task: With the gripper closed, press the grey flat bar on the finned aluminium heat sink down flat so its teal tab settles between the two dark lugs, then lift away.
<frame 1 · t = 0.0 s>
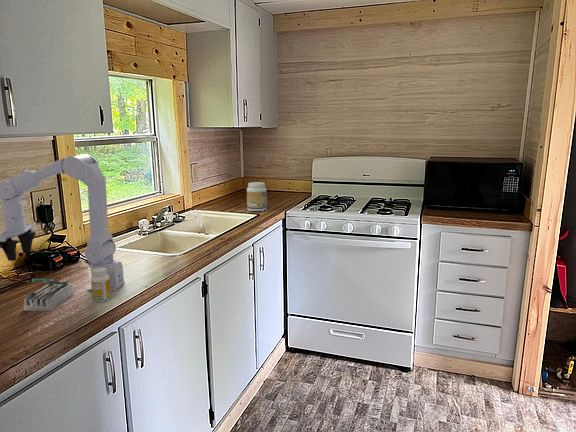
hand: (19, 256, 145), 10 cm above the counter, tool pointing down, fingers open, 7 cm apart
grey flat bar: (49, 281, 134), point 6 cm above the counter, hinge at 25.0°
supplement bottle: (102, 299, 136), on the counter
supplement tub: (257, 210, 268), on the counter
heat sink: (50, 301, 134), on the counter
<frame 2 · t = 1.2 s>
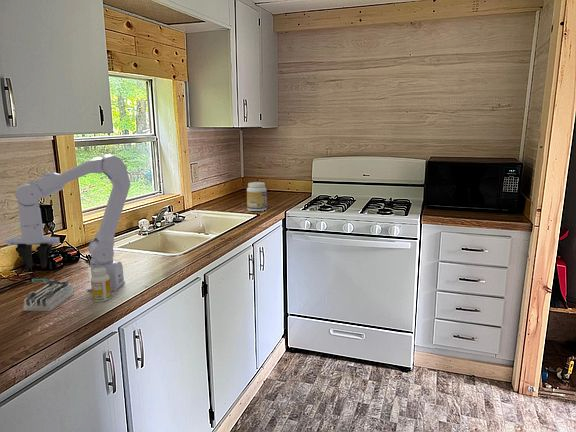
hand: (37, 267, 134), 10 cm above the counter, tool pointing down, fingers open, 4 cm apart
nothing on the counter moved.
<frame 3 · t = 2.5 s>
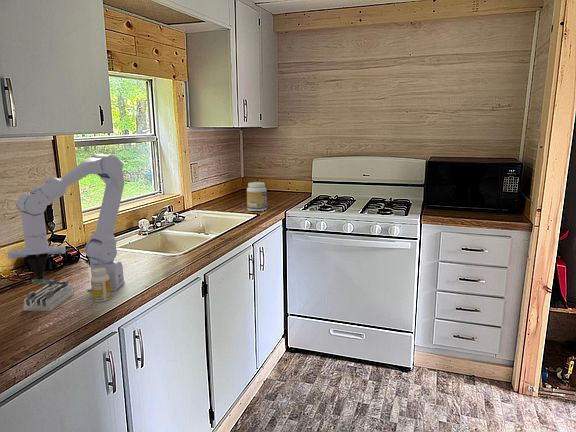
hand: (40, 278, 129), 9 cm above the counter, tool pointing down, fingers closed, pressing on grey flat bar
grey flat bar: (49, 282, 134), point 6 cm above the counter, hinge at 23.9°, touching gripper
everything else where it was.
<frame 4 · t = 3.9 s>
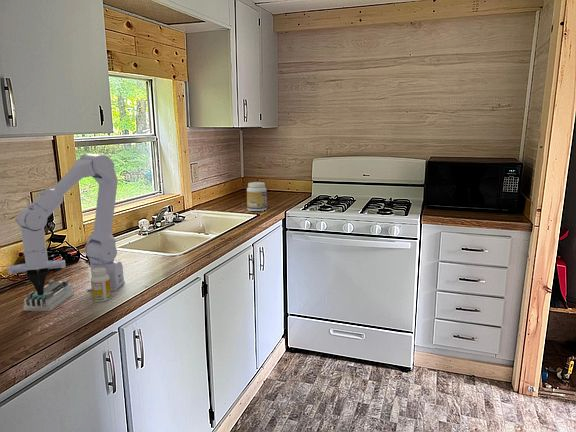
hand: (40, 293, 130), 4 cm above the counter, tool pointing down, fingers closed, pressing on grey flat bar
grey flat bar: (49, 289, 134), point 4 cm above the counter, hinge at -1.2°, touching gripper, heat sink
everything else where it was.
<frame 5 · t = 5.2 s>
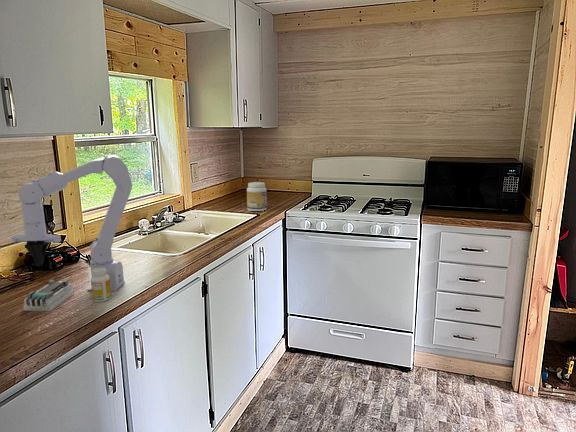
hand: (39, 264, 137), 10 cm above the counter, tool pointing down, fingers closed
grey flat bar: (49, 289, 134), point 4 cm above the counter, hinge at -1.2°, touching heat sink
everything else where it was.
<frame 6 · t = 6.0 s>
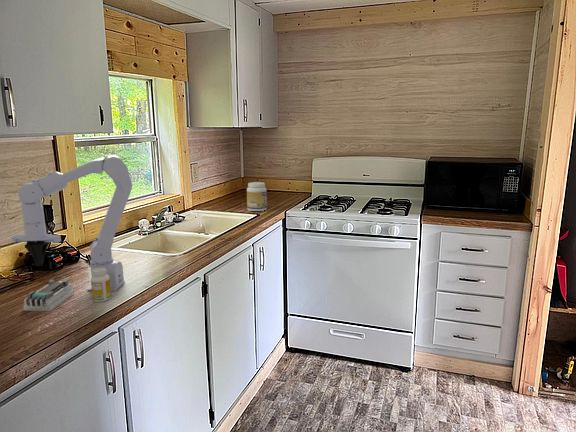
hand: (39, 264, 137), 10 cm above the counter, tool pointing down, fingers closed
nothing on the counter moved.
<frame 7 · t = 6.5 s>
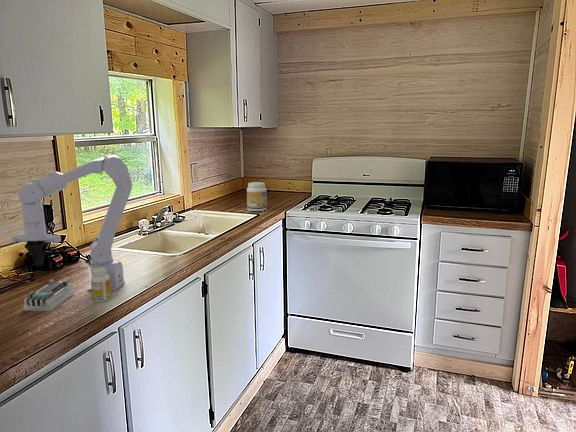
hand: (39, 264, 137), 10 cm above the counter, tool pointing down, fingers closed
nothing on the counter moved.
at the end: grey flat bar at -1° (first picture: +25°); supplement bottle moved 0.2 cm from its start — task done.
